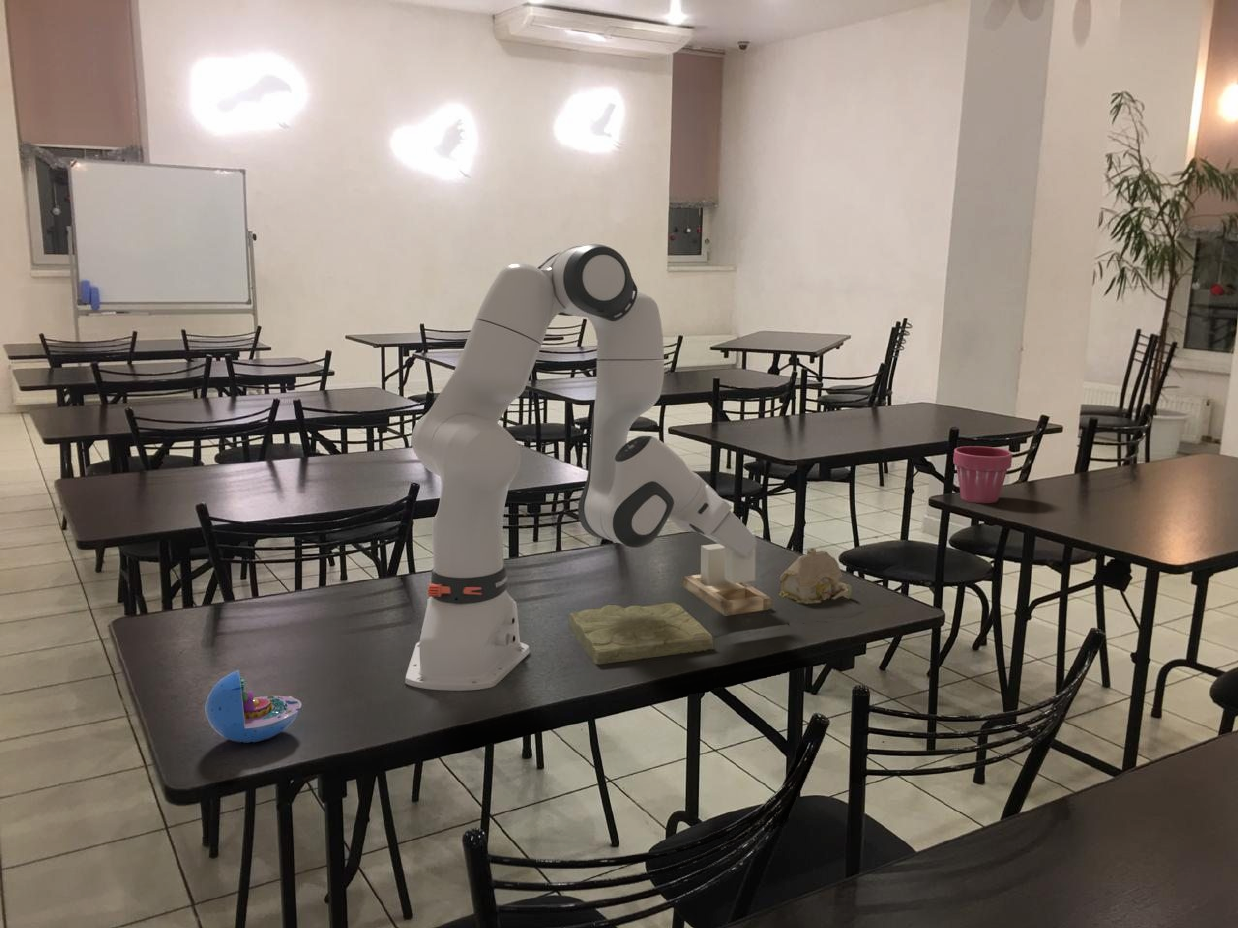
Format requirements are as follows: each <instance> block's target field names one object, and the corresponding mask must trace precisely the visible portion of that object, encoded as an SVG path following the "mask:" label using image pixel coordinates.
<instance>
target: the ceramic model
mask: <svg viewBox="0 0 1238 928" xmlns="http://www.w3.org/2000/svg"><path fill="white" fill-rule="evenodd" d="M842 578H843V574H842V571H841V568H840V565H839V562H838V561H837V559H836V558H835V557H833V556H832V555H831V554H829V553H828V551H826V550H825V551H824V550H818V551H817V550H816V548H813V547H812V548H810V549H809V548H808V549H807V550H806V553H804V554H802V555H800V556H798V557H797V559H796V560H795V561H794V562H793V563H792V564H791V565H790V566H789V567H788V569H786V570H784V572H783V573H782V574H781V576H780V578H779V582H780V587H781V591H780V593H778V596H781V597H782V598H789V599H792V600H793V601H794V600H795V602H796V603H799V604H805V605H807V604H808V605H809V604H819V603H822V601H826V600H827V599H831V600H836V599H838V598H840V597H844V598H846V599H847V600H850V598H851V595H852V591H853V590H852V586H851V585H850V584H848V583H847V584H846V583H844V582H841V581H840V579H842Z"/></svg>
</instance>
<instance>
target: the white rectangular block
mask: <svg viewBox="0 0 1238 928" xmlns="http://www.w3.org/2000/svg"><path fill="white" fill-rule="evenodd" d="M750 532H751V533H752V534H753V536H754V537H755V538H756V533H754V532H753V531H750ZM752 552H753V555H752V556H751V558H750V559H749V560H746V559H744V558H742V557H741V556H740V555H738V554H737V553H735V552H733V551H731V550H729V549H728V548H726V547H725V579H726V580H727V581H729V582H730V583H732V584H734V583H741V582H746V583H747V582H753V581H756V547H755V548H754V549H753V550H752Z"/></svg>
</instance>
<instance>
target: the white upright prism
mask: <svg viewBox="0 0 1238 928" xmlns="http://www.w3.org/2000/svg"><path fill="white" fill-rule="evenodd" d="M700 574H701V583H703V584H704V585H706V586H712V585H719V584H726V583H730V582H729V581H727V580H726V579H725V547H724V546H722V545H720V544H718V543H712V544H705V545H703V544H702V545H700Z"/></svg>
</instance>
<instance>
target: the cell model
mask: <svg viewBox="0 0 1238 928" xmlns="http://www.w3.org/2000/svg"><path fill="white" fill-rule="evenodd" d="M211 688H212V689H211V690H210V691H209V693H208V694H207V697H206V701H205V706H204V711H205V716H206V719H207V722H208V723H209V725H210V726H211V728H212V729H213V730H214V731H215V732H216V733H217V734H218V735H220V736H221V737H223V738H224V739H227V740H228V741H233V742H237V743H241V742H243V743H245V744H249V743H250V742H253V743H258V742H262V741H265V739H266V740H268V739H271V738H272V737H275V736H278V735H279V734H281V732H283V731H284V730H286V729H287V728H288V727H289V726H290V725H292V723H293V722H294V721H296V719H297V717H298V715H299V712H300V710H301V707H302V702H301V701H300V700H299V699H297V698H295V697H293V696H292V695H289V696H285V695H284V696H283V695H266V696H265V695H264V696H257V697H254V692H253V690H250V691H246V690H245V682H244V677H240V670H239V669H237V670H235V671H232V672H231V673H228V674H226V675H225V676H223V677H222V678H221V679H220V680H219V681H218V682H216V683H215V684H214V686H213V687H211Z"/></svg>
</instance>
